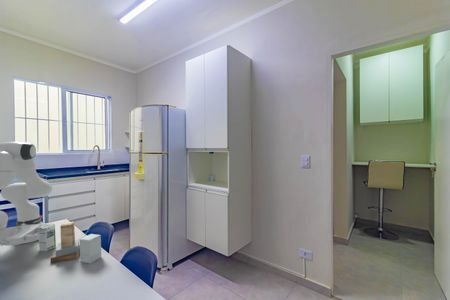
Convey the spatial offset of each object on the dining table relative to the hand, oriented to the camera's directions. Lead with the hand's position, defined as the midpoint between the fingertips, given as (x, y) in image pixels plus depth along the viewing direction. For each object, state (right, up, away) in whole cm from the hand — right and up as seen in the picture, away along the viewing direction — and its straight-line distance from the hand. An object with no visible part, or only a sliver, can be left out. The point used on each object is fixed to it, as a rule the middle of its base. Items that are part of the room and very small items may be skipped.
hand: (42, 232), depth 118 cm
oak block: (+12, -8, +4) cm, 15 cm away
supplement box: (+28, -15, -1) cm, 32 cm away
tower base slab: (+12, -15, +3) cm, 20 cm away
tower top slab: (+12, -12, +3) cm, 17 cm away
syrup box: (-7, -15, +13) cm, 21 cm away
